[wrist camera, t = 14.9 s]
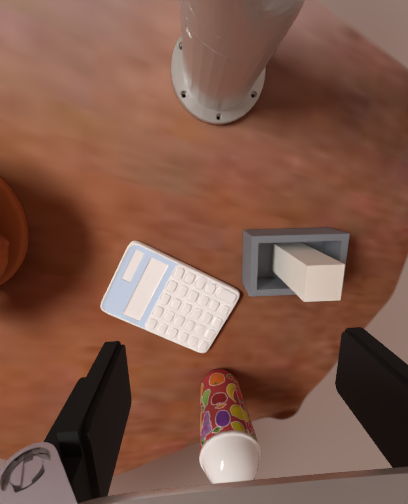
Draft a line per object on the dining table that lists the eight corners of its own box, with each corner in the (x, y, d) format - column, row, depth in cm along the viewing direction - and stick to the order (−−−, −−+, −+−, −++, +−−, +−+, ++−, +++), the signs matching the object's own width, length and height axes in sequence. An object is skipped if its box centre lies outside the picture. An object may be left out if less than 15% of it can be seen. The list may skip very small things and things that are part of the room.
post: (273, 243, 40) (307, 265, 29) (300, 242, 41) (345, 264, 29) (271, 269, 42) (303, 301, 30) (298, 268, 42) (340, 300, 30)
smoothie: (226, 405, 49) (252, 549, 29) (188, 390, 47) (188, 531, 28) (248, 372, 47) (291, 501, 28) (209, 355, 46) (225, 479, 26)
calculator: (204, 350, 46) (205, 357, 44) (100, 305, 43) (96, 311, 41) (241, 289, 43) (243, 294, 42) (132, 236, 40) (130, 239, 38)
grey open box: (243, 229, 40) (251, 236, 35) (328, 227, 41) (349, 233, 36) (242, 282, 42) (249, 296, 37) (323, 279, 43) (341, 292, 38)
